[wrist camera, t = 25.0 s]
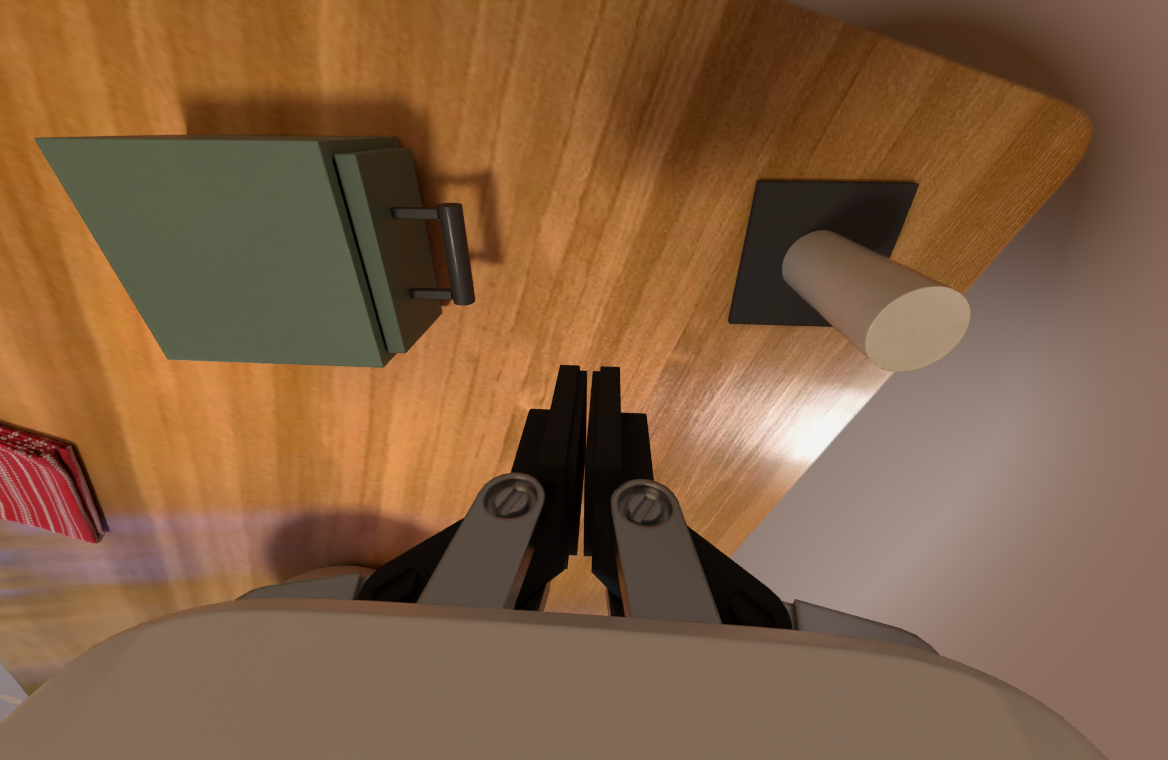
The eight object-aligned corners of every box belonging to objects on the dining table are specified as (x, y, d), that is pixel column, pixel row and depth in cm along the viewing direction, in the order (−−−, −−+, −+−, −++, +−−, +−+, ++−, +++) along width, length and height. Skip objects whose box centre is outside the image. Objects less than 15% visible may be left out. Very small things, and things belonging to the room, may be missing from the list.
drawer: (475, 148, 26) (437, 155, 20) (495, 314, 32) (469, 356, 26) (211, 145, 27) (102, 151, 21) (278, 308, 33) (207, 346, 27)
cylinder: (791, 229, 28) (887, 285, 18) (857, 230, 28) (991, 287, 18) (774, 291, 30) (852, 370, 20) (836, 293, 30) (943, 373, 20)
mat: (756, 180, 27) (759, 181, 26) (914, 182, 26) (920, 183, 26) (727, 320, 32) (729, 323, 32) (858, 324, 32) (862, 328, 31)
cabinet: (397, 136, 27) (317, 140, 20) (433, 315, 34) (383, 368, 26) (186, 134, 28) (32, 137, 20) (262, 310, 34) (167, 360, 27)
